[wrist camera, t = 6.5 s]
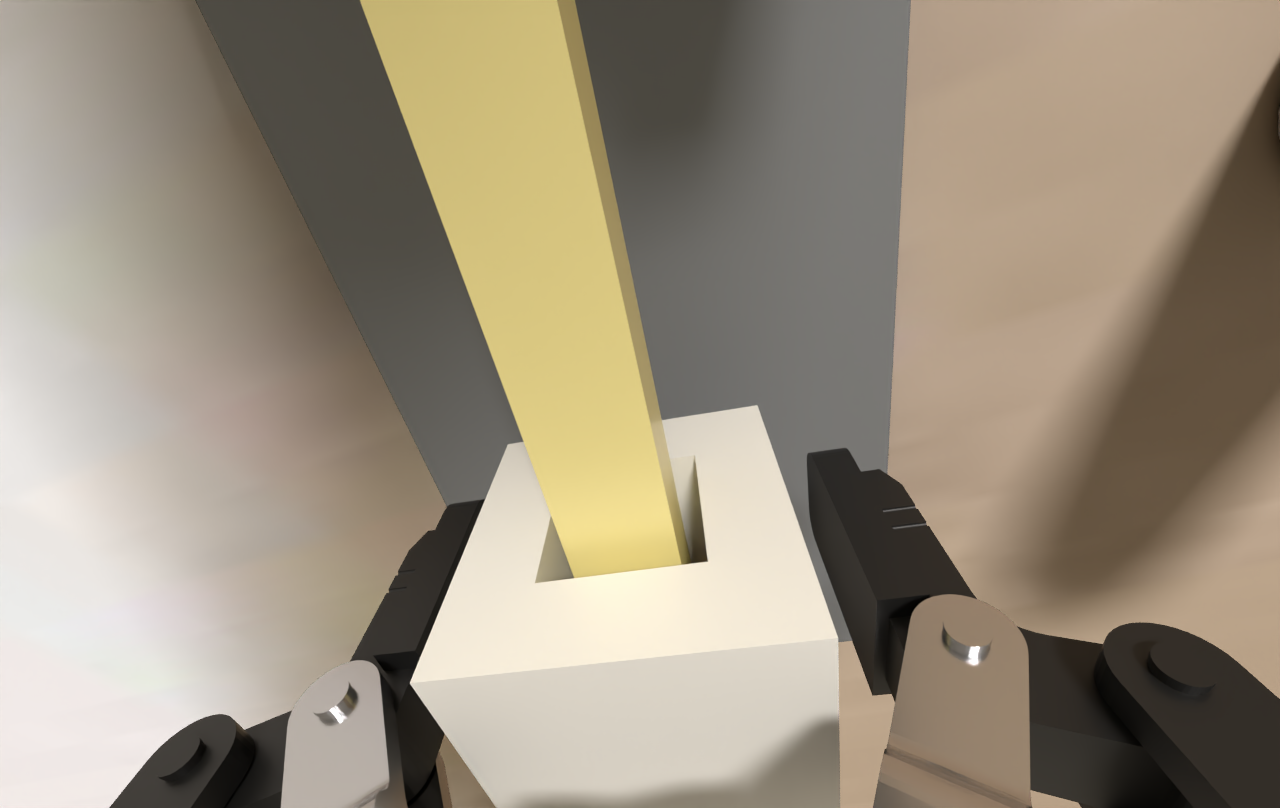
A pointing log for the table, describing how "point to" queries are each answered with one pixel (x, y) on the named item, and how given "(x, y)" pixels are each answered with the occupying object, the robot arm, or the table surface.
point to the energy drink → (1279, 124)
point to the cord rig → (541, 258)
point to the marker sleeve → (644, 647)
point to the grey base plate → (629, 215)
